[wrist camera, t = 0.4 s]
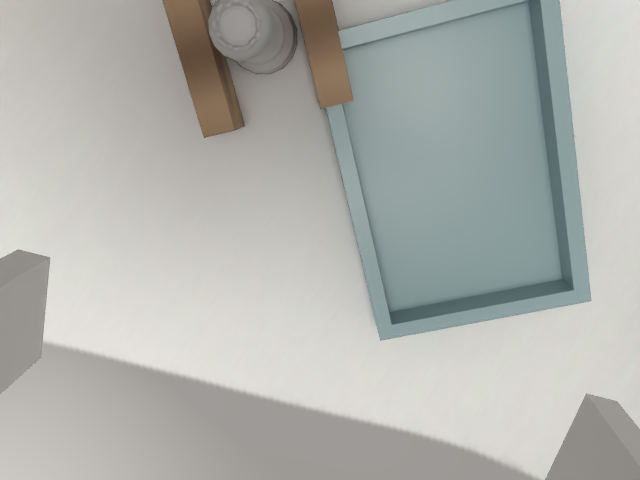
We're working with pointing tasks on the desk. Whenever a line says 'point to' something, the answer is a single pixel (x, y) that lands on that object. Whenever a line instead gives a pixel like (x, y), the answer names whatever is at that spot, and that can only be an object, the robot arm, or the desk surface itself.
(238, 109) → the slot rails
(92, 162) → the desk surface
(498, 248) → the tray
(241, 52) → the rook chess piece
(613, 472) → the robot arm
